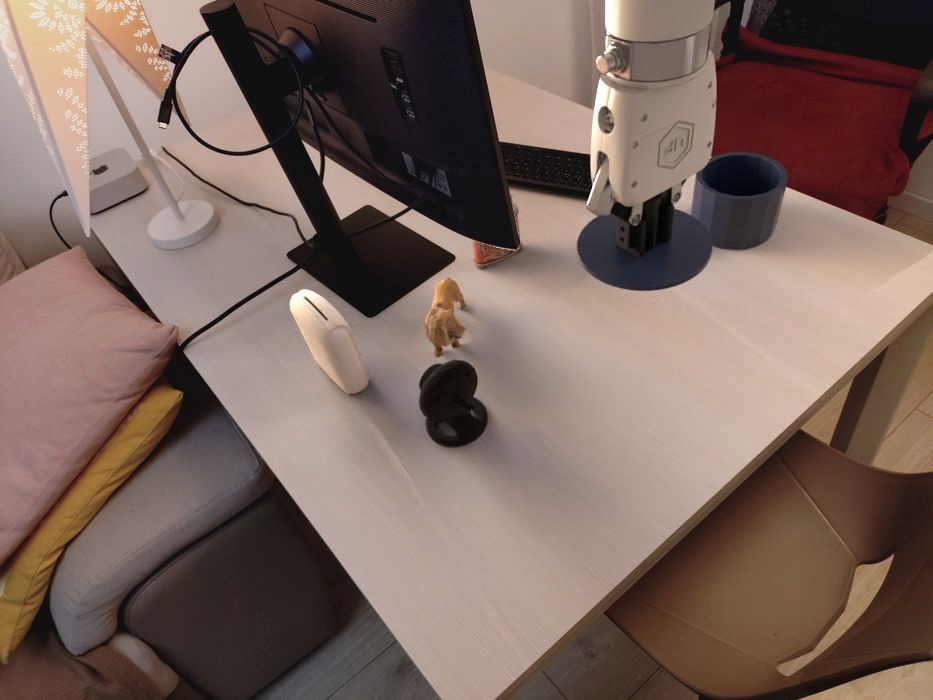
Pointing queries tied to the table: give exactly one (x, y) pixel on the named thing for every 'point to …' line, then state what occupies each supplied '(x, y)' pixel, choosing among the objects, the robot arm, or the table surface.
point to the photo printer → (330, 341)
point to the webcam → (452, 403)
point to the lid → (660, 259)
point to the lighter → (494, 250)
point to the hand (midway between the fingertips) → (643, 241)
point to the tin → (739, 198)
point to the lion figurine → (444, 317)
